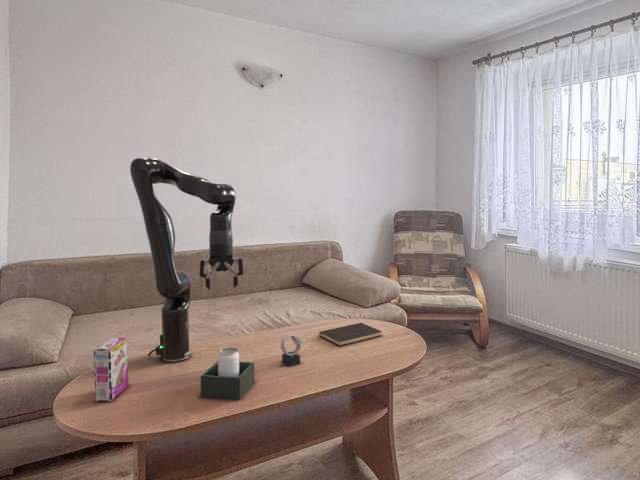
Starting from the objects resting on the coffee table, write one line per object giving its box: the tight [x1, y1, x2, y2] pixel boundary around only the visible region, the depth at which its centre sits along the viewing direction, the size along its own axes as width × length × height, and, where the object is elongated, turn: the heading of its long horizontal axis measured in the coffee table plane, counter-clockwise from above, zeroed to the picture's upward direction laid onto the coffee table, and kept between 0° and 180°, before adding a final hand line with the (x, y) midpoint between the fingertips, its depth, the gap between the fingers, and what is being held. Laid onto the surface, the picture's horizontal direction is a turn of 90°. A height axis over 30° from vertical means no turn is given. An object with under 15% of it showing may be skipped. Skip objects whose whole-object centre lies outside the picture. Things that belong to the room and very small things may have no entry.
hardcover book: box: [318, 322, 383, 347], centre depth 196 cm, size 16×23×2 cm
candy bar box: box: [93, 337, 129, 402], centre depth 136 cm, size 11×5×16 cm, turn 5°
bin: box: [200, 360, 255, 400], centre depth 142 cm, size 13×13×7 cm
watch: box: [280, 333, 303, 367], centre depth 164 cm, size 6×8×11 cm
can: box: [217, 347, 240, 377], centre depth 142 cm, size 6×6×12 cm
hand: (221, 287), depth 153 cm, fingers open, 8 cm apart
